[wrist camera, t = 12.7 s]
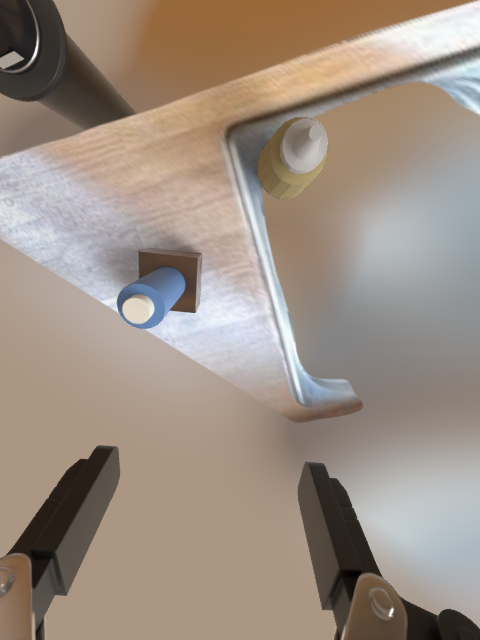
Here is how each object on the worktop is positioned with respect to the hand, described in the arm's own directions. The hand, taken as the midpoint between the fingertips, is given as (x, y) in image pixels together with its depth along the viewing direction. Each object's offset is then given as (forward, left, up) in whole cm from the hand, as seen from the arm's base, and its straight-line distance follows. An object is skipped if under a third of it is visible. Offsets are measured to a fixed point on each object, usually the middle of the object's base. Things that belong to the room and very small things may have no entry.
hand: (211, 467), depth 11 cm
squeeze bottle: (-18, +6, -37) cm, 41 cm away
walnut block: (0, -10, -36) cm, 38 cm away
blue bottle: (0, -10, -31) cm, 33 cm away
